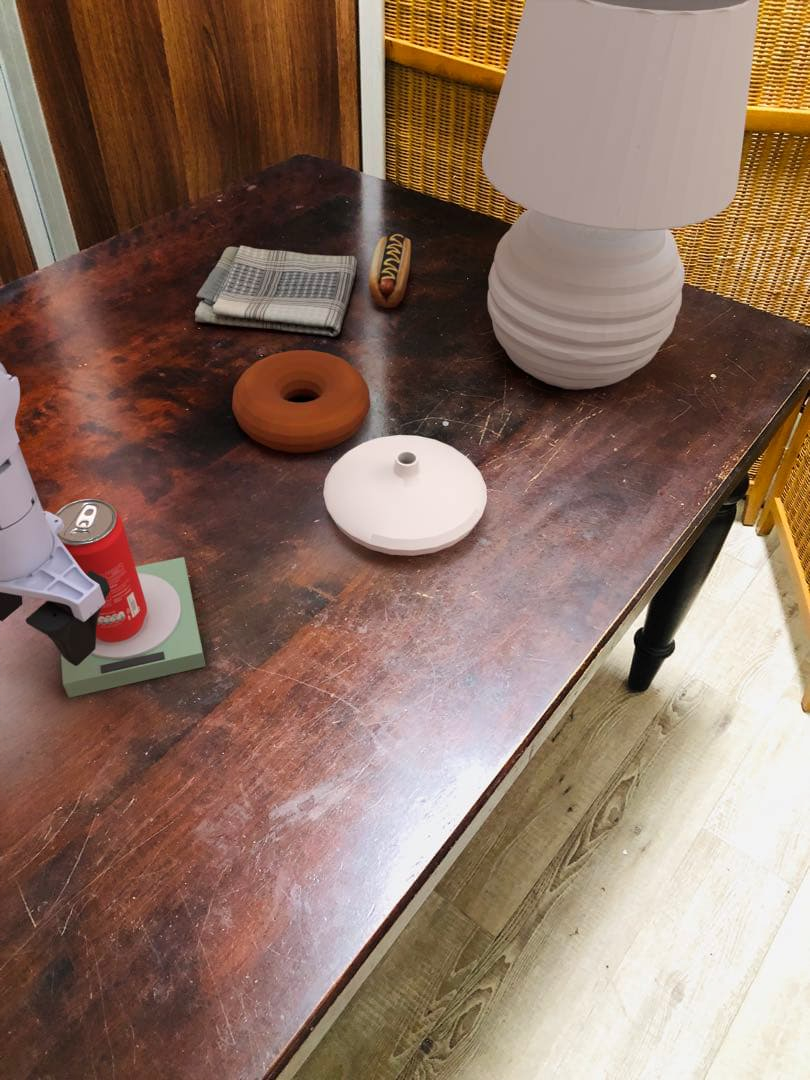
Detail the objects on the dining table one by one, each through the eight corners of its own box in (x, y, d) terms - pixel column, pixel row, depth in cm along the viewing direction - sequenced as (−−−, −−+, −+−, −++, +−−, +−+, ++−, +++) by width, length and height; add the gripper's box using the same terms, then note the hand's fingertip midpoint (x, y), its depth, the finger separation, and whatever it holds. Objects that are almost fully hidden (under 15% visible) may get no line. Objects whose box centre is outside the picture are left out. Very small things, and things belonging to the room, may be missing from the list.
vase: (305, 477, 90) (301, 423, 85) (447, 445, 94) (452, 392, 89) (353, 589, 80) (352, 536, 75) (511, 548, 84) (520, 494, 79)
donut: (271, 481, 89) (267, 443, 86) (212, 402, 98) (206, 364, 94) (396, 434, 95) (397, 397, 91) (330, 363, 103) (328, 326, 100)
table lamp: (711, 353, 107) (839, -26, 78) (614, 461, 93) (727, 47, 64) (533, 283, 117) (587, -76, 88) (421, 370, 103) (442, -23, 74)
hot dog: (363, 314, 111) (363, 279, 107) (375, 261, 120) (376, 226, 116) (403, 317, 110) (404, 282, 107) (412, 264, 119) (413, 229, 116)
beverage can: (76, 644, 72) (36, 543, 63) (96, 595, 75) (61, 493, 66) (139, 649, 72) (108, 549, 63) (156, 599, 75) (128, 499, 66)
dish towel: (360, 266, 119) (360, 244, 116) (339, 341, 106) (339, 318, 104) (225, 255, 119) (222, 232, 117) (189, 328, 107) (185, 305, 105)
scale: (68, 698, 71) (61, 681, 69) (62, 596, 78) (55, 579, 76) (205, 666, 73) (201, 649, 72) (187, 571, 81) (183, 553, 79)
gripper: (118, 509, 56) (155, 638, 66) (-38, 429, 61) (18, 560, 71) (33, 579, 52) (86, 706, 62) (-128, 487, 57) (-55, 618, 66)
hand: (45, 632), depth 66 cm, fingers open, 7 cm apart
